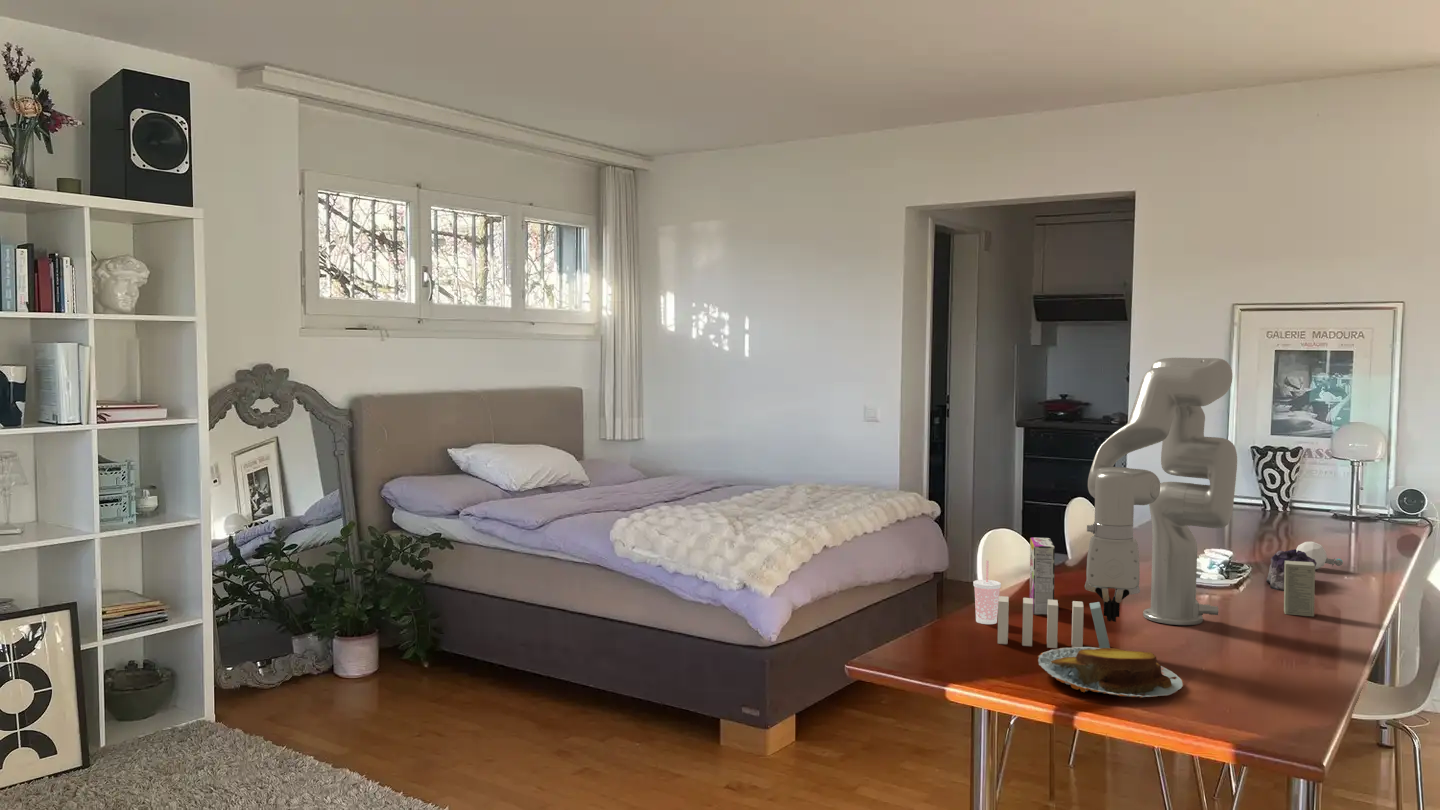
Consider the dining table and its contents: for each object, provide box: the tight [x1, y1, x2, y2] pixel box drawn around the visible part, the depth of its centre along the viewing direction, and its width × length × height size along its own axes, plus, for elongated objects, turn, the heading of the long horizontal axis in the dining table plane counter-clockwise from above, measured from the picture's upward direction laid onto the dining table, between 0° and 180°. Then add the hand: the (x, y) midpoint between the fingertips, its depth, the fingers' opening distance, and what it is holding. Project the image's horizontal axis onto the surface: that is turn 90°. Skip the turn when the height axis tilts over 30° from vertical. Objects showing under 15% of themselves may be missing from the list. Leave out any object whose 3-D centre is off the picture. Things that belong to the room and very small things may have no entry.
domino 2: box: [1021, 597, 1034, 647], centre depth 224 cm, size 2×5×9 cm, turn 164°
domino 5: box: [1088, 601, 1111, 648], centre depth 220 cm, size 2×5×9 cm, turn 164°
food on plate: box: [1037, 646, 1185, 699], centre depth 198 cm, size 26×26×7 cm
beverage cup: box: [972, 560, 1002, 625], centre depth 241 cm, size 6×6×14 cm
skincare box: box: [1283, 560, 1316, 617], centre depth 249 cm, size 6×4×12 cm
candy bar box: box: [1029, 537, 1056, 616], centre depth 252 cm, size 11×5×16 cm, turn 168°
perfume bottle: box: [1295, 541, 1344, 571], centre depth 298 cm, size 8×8×12 cm
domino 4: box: [1071, 600, 1085, 648], centre depth 221 cm, size 2×5×9 cm, turn 164°
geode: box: [1266, 548, 1317, 592], centre depth 280 cm, size 20×12×10 cm, turn 145°
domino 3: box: [1046, 599, 1059, 649], centre depth 222 cm, size 2×5×9 cm, turn 163°
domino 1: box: [997, 595, 1010, 645], centre depth 225 cm, size 2×5×9 cm, turn 163°
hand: (1111, 619), depth 219 cm, fingers closed
